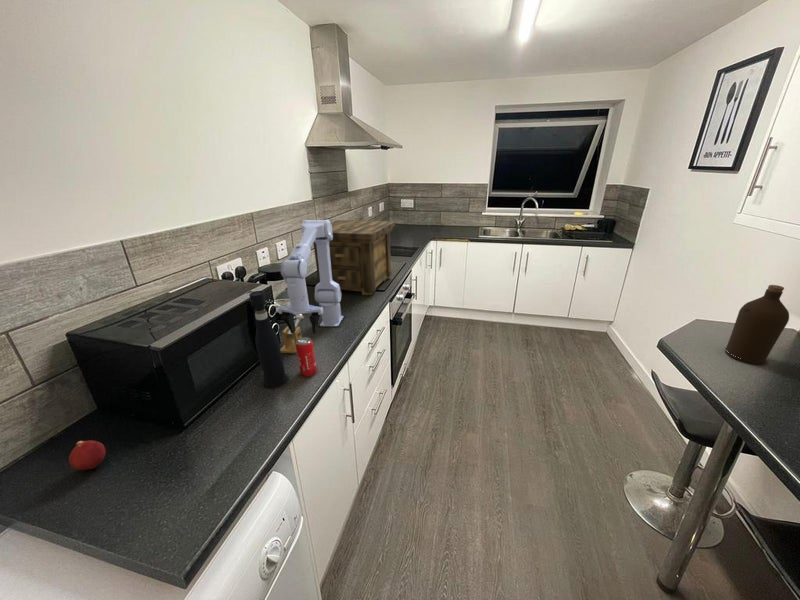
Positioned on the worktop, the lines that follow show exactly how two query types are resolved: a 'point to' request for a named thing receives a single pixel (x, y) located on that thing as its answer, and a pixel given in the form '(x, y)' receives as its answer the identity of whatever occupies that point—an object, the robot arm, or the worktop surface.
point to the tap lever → (299, 318)
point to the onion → (87, 455)
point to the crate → (359, 254)
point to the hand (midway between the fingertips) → (304, 332)
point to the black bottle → (267, 344)
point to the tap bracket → (290, 341)
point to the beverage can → (306, 356)
